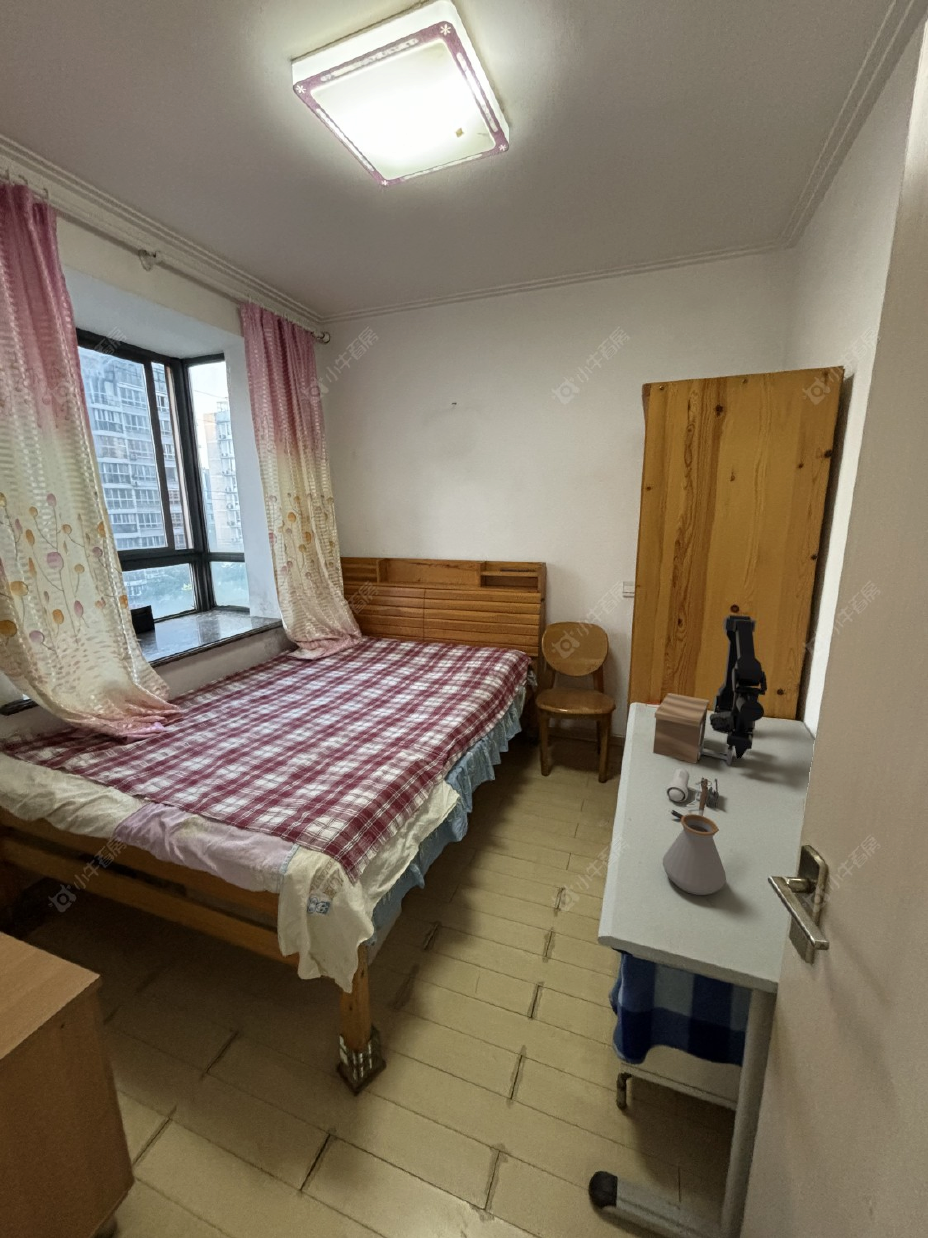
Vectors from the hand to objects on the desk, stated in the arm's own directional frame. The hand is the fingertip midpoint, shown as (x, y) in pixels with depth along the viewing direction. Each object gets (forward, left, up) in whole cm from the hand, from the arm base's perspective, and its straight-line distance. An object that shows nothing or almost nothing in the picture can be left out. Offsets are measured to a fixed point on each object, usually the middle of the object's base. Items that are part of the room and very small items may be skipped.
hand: (738, 758), depth 147 cm
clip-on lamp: (+32, -8, -2) cm, 33 cm away
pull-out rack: (0, -10, -2) cm, 10 cm away
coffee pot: (+55, -4, -2) cm, 55 cm away
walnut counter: (0, -16, -2) cm, 16 cm away
